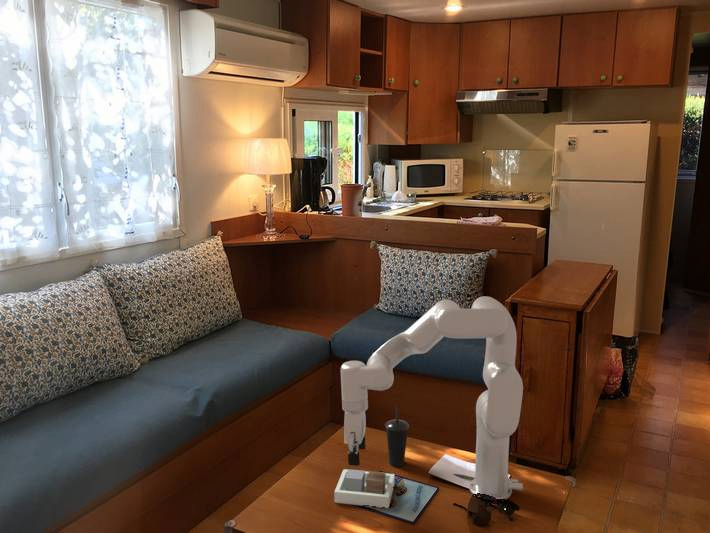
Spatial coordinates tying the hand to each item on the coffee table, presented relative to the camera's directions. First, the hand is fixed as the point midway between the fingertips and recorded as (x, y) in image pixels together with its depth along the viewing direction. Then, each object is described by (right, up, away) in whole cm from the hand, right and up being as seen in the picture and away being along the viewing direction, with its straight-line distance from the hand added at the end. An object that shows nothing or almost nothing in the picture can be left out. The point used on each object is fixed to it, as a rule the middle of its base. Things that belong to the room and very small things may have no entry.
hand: (357, 456), depth 197 cm
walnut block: (+6, -11, +1) cm, 12 cm away
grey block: (-1, -10, +2) cm, 11 cm away
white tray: (+2, -12, +2) cm, 12 cm away
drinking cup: (+13, -8, +19) cm, 25 cm away
